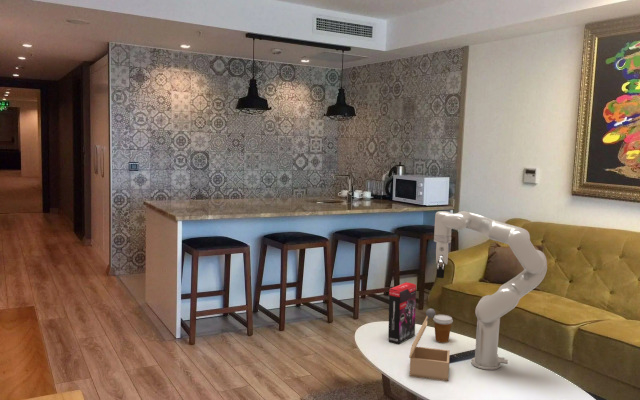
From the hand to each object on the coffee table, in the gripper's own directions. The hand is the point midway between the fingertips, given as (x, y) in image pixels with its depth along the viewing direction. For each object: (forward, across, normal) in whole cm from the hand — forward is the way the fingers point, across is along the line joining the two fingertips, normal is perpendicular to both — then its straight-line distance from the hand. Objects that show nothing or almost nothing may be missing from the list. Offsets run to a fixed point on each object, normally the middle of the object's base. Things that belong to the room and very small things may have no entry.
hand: (440, 275), depth 252 cm
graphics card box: (+39, +16, +18) cm, 45 cm away
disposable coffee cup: (+38, +20, -2) cm, 43 cm away
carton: (+38, -20, +2) cm, 43 cm away
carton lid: (+21, -20, +4) cm, 29 cm away
